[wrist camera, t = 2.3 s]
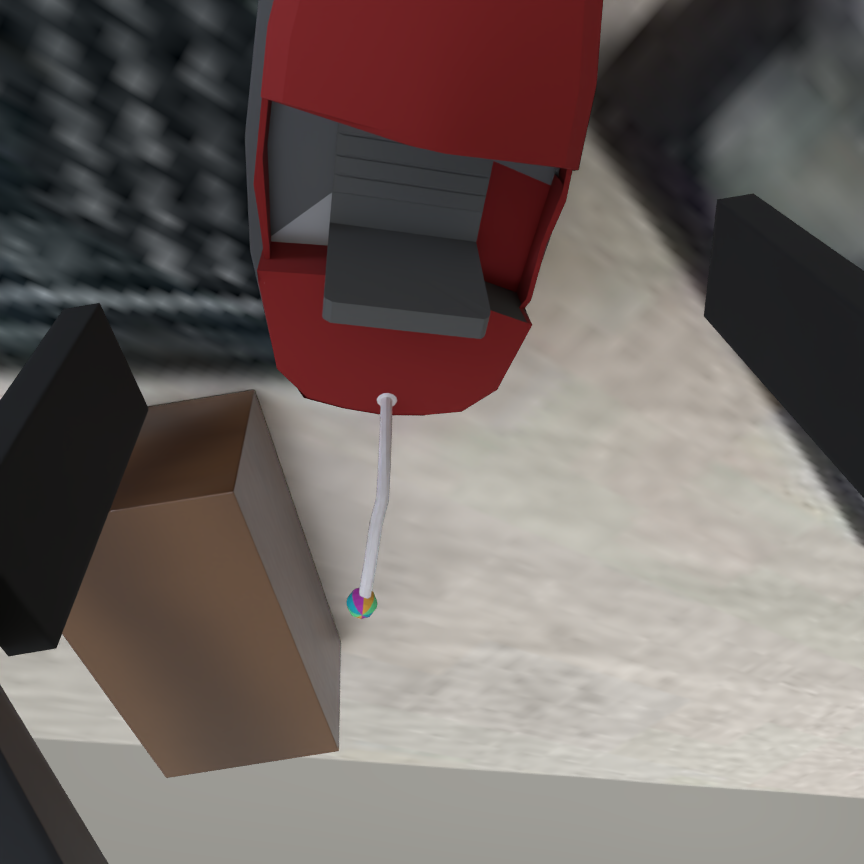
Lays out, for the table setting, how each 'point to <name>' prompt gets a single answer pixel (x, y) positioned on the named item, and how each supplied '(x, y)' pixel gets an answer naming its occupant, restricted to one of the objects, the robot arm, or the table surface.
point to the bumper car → (409, 195)
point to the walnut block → (209, 598)
